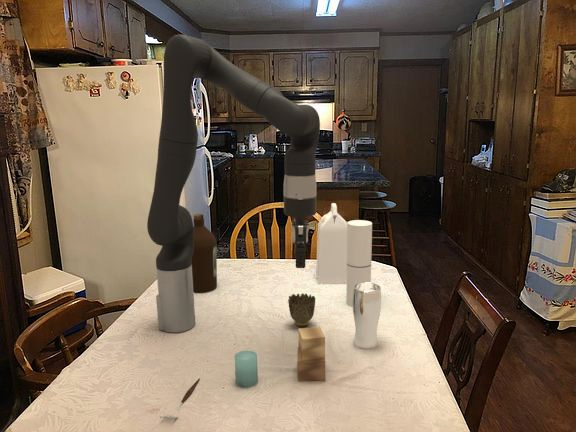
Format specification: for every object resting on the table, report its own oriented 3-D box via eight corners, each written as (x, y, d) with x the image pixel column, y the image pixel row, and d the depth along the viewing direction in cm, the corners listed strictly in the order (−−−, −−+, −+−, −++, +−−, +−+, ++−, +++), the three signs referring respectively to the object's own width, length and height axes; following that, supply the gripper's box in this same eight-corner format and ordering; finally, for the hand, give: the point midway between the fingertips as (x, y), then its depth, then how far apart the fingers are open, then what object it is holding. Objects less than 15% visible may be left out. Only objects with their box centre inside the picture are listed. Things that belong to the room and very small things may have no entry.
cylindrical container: (343, 306, 140) (344, 224, 135) (349, 297, 147) (350, 219, 141) (367, 309, 138) (369, 226, 132) (372, 300, 144) (374, 221, 139)
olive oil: (186, 295, 150) (181, 219, 145) (186, 283, 161) (181, 212, 155) (220, 292, 153) (216, 217, 147) (217, 280, 163) (214, 210, 157)
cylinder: (234, 387, 100) (233, 361, 99) (237, 375, 105) (236, 350, 103) (256, 387, 100) (255, 362, 98) (258, 375, 104) (258, 350, 103)
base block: (297, 381, 102) (297, 360, 101) (297, 366, 108) (297, 347, 107) (325, 381, 102) (325, 360, 101) (324, 367, 108) (324, 347, 106)
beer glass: (362, 352, 113) (364, 294, 110) (346, 340, 119) (347, 285, 116) (385, 345, 116) (387, 288, 113) (368, 334, 122) (369, 280, 119)
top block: (302, 360, 101) (302, 339, 100) (298, 349, 106) (298, 328, 105) (325, 358, 102) (325, 337, 100) (320, 347, 106) (320, 326, 105)
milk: (352, 284, 158) (353, 208, 152) (317, 284, 158) (317, 208, 152) (348, 272, 170) (349, 201, 164) (316, 272, 170) (316, 201, 164)
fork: (205, 381, 103) (205, 372, 103) (172, 427, 88) (171, 418, 88) (194, 379, 104) (194, 371, 103) (159, 426, 89) (158, 416, 88)
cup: (313, 332, 124) (313, 304, 122) (286, 330, 125) (285, 302, 124) (317, 320, 131) (317, 293, 129) (291, 318, 132) (291, 291, 131)
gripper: (283, 189, 114) (284, 252, 118) (283, 200, 101) (283, 272, 104) (314, 188, 114) (314, 252, 118) (318, 200, 101) (317, 271, 104)
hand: (300, 261), depth 111 cm, fingers open, 8 cm apart
